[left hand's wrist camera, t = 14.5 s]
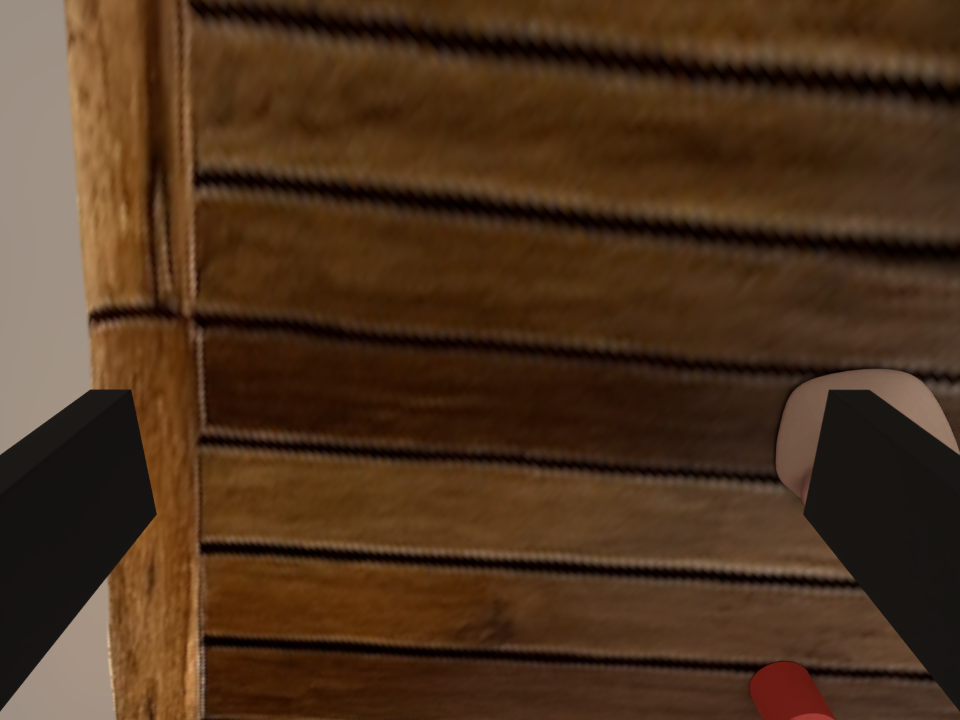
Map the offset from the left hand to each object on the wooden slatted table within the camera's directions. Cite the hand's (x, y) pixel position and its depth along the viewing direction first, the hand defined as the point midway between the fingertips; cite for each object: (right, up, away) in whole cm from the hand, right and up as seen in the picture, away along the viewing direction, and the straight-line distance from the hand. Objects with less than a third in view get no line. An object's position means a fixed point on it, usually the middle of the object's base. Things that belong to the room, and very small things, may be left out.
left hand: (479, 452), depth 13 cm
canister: (+23, -23, +39) cm, 51 cm away
